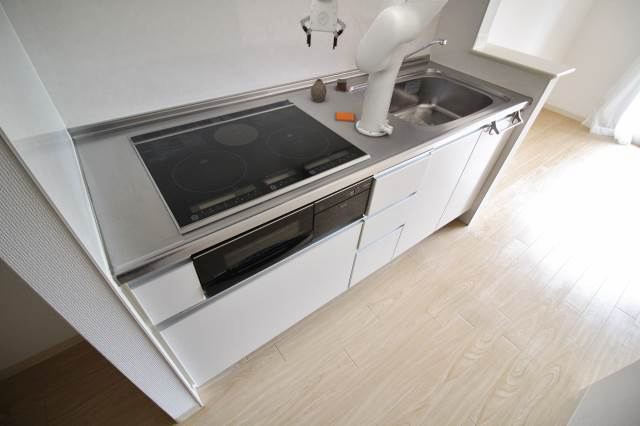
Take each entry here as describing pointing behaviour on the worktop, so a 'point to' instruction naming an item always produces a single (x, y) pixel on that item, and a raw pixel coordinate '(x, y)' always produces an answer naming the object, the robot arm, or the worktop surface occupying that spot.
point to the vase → (318, 91)
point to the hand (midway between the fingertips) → (321, 47)
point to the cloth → (345, 116)
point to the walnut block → (341, 84)
